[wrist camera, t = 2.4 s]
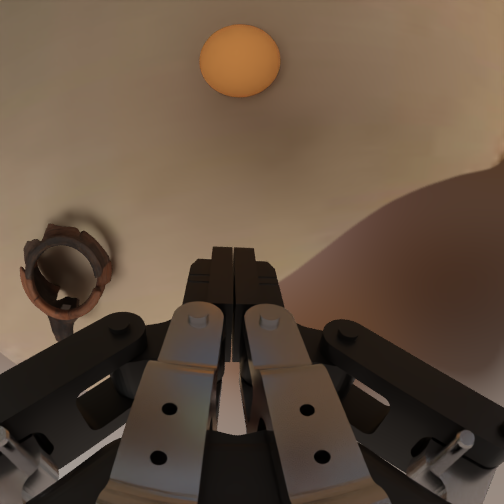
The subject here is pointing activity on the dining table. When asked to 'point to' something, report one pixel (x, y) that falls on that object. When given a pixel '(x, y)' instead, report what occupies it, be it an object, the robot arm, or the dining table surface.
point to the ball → (239, 60)
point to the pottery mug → (46, 293)
